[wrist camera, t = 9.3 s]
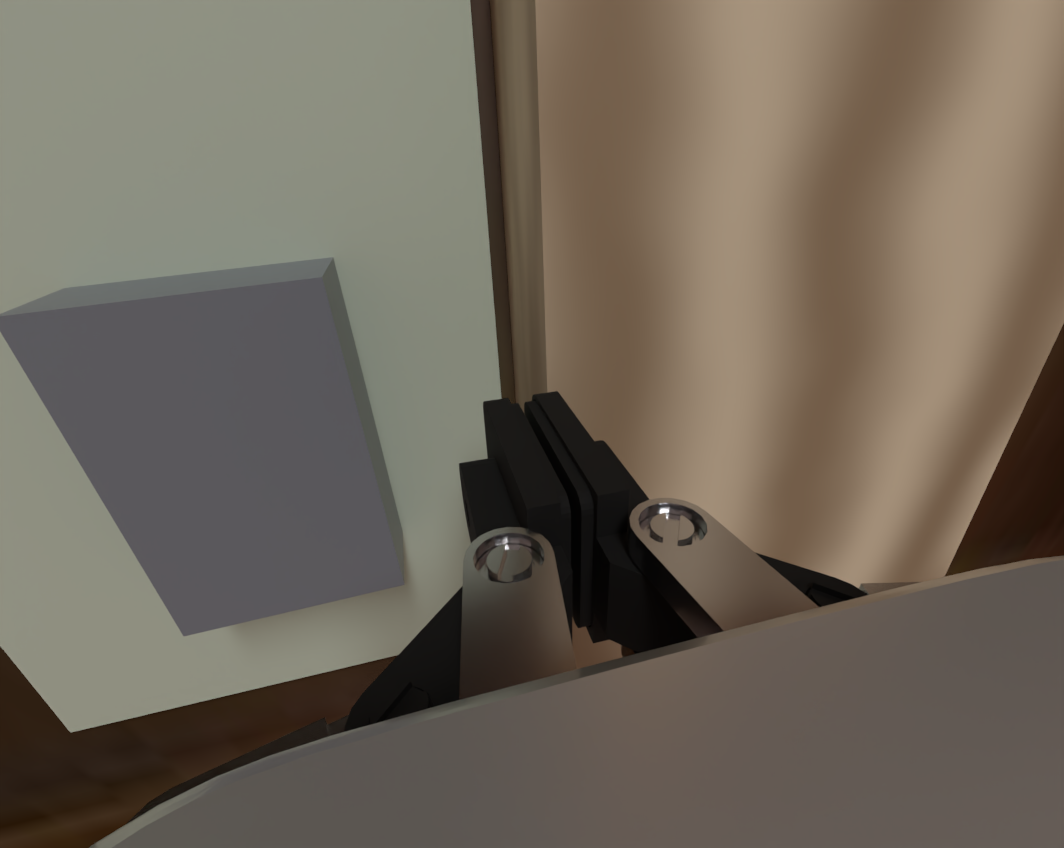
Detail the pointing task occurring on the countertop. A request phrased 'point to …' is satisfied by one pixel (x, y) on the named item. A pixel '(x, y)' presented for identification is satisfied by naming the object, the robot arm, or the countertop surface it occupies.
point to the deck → (788, 255)
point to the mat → (226, 243)
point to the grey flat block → (222, 434)
